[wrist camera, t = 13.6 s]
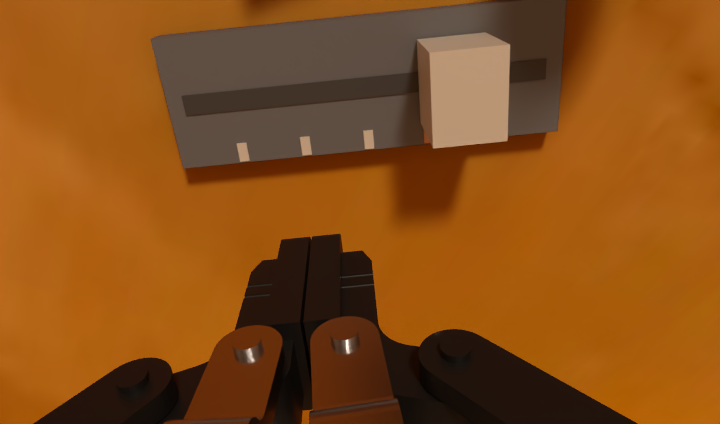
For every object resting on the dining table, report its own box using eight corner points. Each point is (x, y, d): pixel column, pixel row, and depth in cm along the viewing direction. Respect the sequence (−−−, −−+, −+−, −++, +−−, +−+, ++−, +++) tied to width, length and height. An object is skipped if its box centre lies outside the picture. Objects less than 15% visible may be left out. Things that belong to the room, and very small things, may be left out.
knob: (420, 122, 33) (433, 148, 28) (416, 39, 31) (429, 52, 26) (484, 116, 33) (507, 141, 28) (485, 32, 31) (510, 44, 26)
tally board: (189, 160, 35) (183, 169, 34) (158, 35, 32) (149, 39, 30) (549, 124, 35) (558, 131, 33) (557, -6, 31) (567, -4, 30)
